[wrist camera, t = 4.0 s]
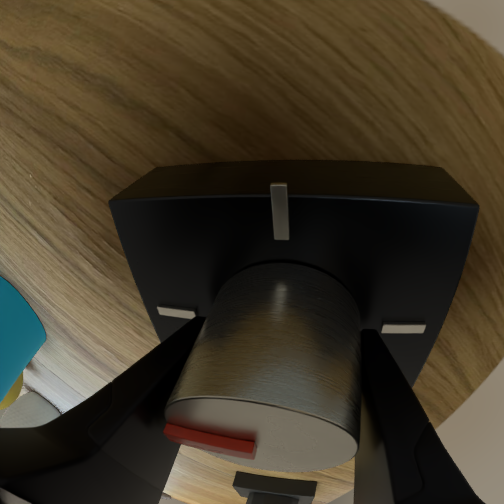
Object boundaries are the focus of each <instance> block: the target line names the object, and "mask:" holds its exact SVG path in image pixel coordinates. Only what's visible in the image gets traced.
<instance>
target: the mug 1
mask: <svg viewBox="0 0 504 504" xmlns="http://www.w3.org/2000/svg"><path fill="white" fill-rule="evenodd" d="M45 341H46V333H45V331H44V328H43V326H42V324H41V322H40V321H39V319H38V317H37V316H36V314H35V313H34V311H33V310H32V308H31V307H30V306H29V304H28V303H27V302H26V301H25V299H24V298H23V297H22V296H21V295H20V294H19V292H18V291H17V290H16V289H15V288H14V287H13V286H12V285H11V284H10V283H9V282H7V281H6V280H5V279H3V278H2V277H1V276H0V403H1V402H2V400H3V399H4V397H5V396H6V394H7V393H8V391H9V390H10V388H11V387H12V386H13V384H14V383H15V381H16V380H17V378H18V377H19V376H20V374H21V373H22V371H23V370H24V369H25V367H26V366H27V364H28V363H29V362H30V360H31V359H32V358H33V356H34V355H35V354H36V352H37V351H38V350H39V348H40V347H41V346H42V345H43V343H44V342H45Z"/></svg>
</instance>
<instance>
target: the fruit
mask: <svg viewBox="0 0 504 504" xmlns="http://www.w3.org/2000/svg"><path fill="white" fill-rule="evenodd" d="M22 384H23V371H22V373H21V374H20V376H19V377H18V378H17V380H16V381H15V383H14V384H13V386H12V387H11V388H10V390H9V391H8V393H7V394H6V396H5V397H4V399H3V400H2V402H1V403H0V410H2V409H4V408H6V407H8V406H10V405H11V404H12V403H13V402H14V401H15V400H16V399H17V397H18V396H19V394H20V391H21V388H22Z"/></svg>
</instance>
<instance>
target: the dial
mask: <svg viewBox="0 0 504 504" xmlns="http://www.w3.org/2000/svg"><path fill="white" fill-rule="evenodd" d="M361 398H362V361H361V328H360V313H359V310H358V306H357V304H356V302H355V300H354V298H353V297H352V295H351V294H350V293H349V291H348V290H347V289H346V288H345V287H344V286H343V285H342V284H341V283H339V282H338V281H337V280H336V279H334V278H332V277H331V276H329V275H327V274H326V273H323V272H321V271H319V270H317V269H314V268H311V267H308V266H304V265H299V264H294V263H266V264H260V265H256V266H252V267H249V268H247V269H244V270H242V271H240V272H238V273H237V274H235V275H233V276H232V277H231V278H230V279H228V280H227V281H226V282H225V284H224V285H223V286H222V287H221V289H220V291H219V292H218V295H217V297H216V299H215V301H214V303H213V305H212V307H211V309H210V312H209V314H208V316H207V318H206V320H205V322H204V324H203V327H202V329H201V331H200V333H199V335H198V337H197V339H196V342H195V344H194V346H193V348H192V350H191V352H190V354H189V357H188V359H187V361H186V363H185V365H184V367H183V370H182V372H181V374H180V376H179V378H178V380H177V383H176V385H175V387H174V389H173V391H172V394H171V396H170V398H169V400H168V402H167V404H166V407H165V410H164V416H165V419H166V422H167V424H166V426H165V428H164V430H163V433H164V434H165V435H166V437H167V438H168V439H169V440H170V441H172V442H176V443H179V444H183V445H186V446H190V447H194V448H198V449H200V450H202V451H204V452H206V453H208V454H210V455H213V456H215V457H218V458H220V459H223V460H226V461H229V462H232V463H235V464H239V465H243V466H247V467H251V468H256V469H262V470H269V471H279V472H309V471H317V470H323V469H328V468H332V467H335V466H338V465H341V464H343V463H345V462H347V461H349V460H350V459H352V458H353V457H354V456H355V455H356V454H357V452H358V450H359V447H360V430H361Z"/></svg>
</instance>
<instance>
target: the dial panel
mask: <svg viewBox="0 0 504 504" xmlns="http://www.w3.org/2000/svg"><path fill="white" fill-rule="evenodd" d="M108 203H109V207H110V210H111V213H112V217H113V220H114V223H115V226H116V229H117V232H118V235H119V238H120V241H121V244H122V247H123V250H124V253H125V256H126V258H127V261H128V264H129V267H130V269H131V272H132V275H133V277H134V280H135V283H136V285H137V288H138V290H139V293H140V295H141V298H142V300H143V303H144V305H145V308H146V310H147V312H148V315H149V317H150V320H151V322H152V324H153V326H154V329H155V331H156V333H157V336H158V338H159V340H160V342H161V343H162V342H163V341H164V340H165V339H167V338H168V337H169V336H171V335H172V334H173V333H174V332H176V331H177V330H178V329H179V328H181V327H182V326H183V325H185V324H186V323H187V322H188V321H190V320H191V319H192V318H193V317H195V316H202V317H207V316H208V314H209V312H210V309H211V307H212V305H213V303H214V301H215V299H216V297H217V295H218V292H219V291H220V289H221V287H222V286H223V285H224V284H225V282H226V281H227V280H228V279H230V278H231V277H232V276H233V275H235V274H237V273H238V272H240V271H242V270H244V269H247V268H249V267H252V266H256V265H260V264H266V263H294V264H299V265H304V266H308V267H311V268H314V269H317V270H319V271H321V272H323V273H326V274H327V275H329V276H331V277H332V278H334V279H336V280H337V281H338V282H339V283H341V284H342V285H343V286H344V287H345V288H346V289H347V290H348V291H349V293H350V294H351V295H352V297H353V298H354V300H355V302H356V304H357V306H358V310H359V313H360V328H361V331H362V330H363V329H376V330H377V331H378V333H379V335H380V336H381V338H382V339H383V341H384V343H385V344H386V346H387V348H388V349H389V351H390V353H391V354H392V356H393V357H394V359H395V361H396V362H397V364H398V366H399V367H400V369H401V371H402V373H403V374H404V376H405V378H406V379H407V381H408V383H409V385H410V386H411V388H412V387H413V385H414V383H415V382H416V380H417V378H418V376H419V374H420V372H421V370H422V368H423V366H424V364H425V362H426V360H427V358H428V356H429V354H430V352H431V350H432V348H433V346H434V343H435V341H436V339H437V337H438V334H439V332H440V330H441V328H442V325H443V323H444V320H445V318H446V316H447V313H448V311H449V308H450V305H451V303H452V300H453V297H454V295H455V292H456V289H457V286H458V283H459V280H460V278H461V275H462V271H463V268H464V265H465V262H466V259H467V255H468V252H469V248H470V245H471V241H472V237H473V233H474V230H475V225H476V221H477V217H478V212H479V205H478V203H477V202H476V201H475V200H474V199H473V198H472V197H471V196H470V195H469V194H468V193H467V192H466V191H465V190H464V189H463V188H462V187H461V186H460V185H459V184H458V183H457V182H456V181H455V180H454V179H453V178H452V177H451V176H450V175H449V174H448V173H447V172H446V171H445V170H444V169H443V168H440V167H430V166H420V165H409V164H396V163H381V162H362V161H333V160H269V161H240V162H220V163H204V164H191V165H179V166H168V167H158V168H155V169H153V170H152V171H150V172H149V173H147V174H146V175H144V176H143V177H141V178H140V179H138V180H137V181H135V182H134V183H133V184H131V185H130V186H128V187H127V188H125V189H124V190H123V191H121V192H120V193H119V194H117V195H116V196H114V197H113V198H112V199H110V200H109V201H108Z"/></svg>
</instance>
